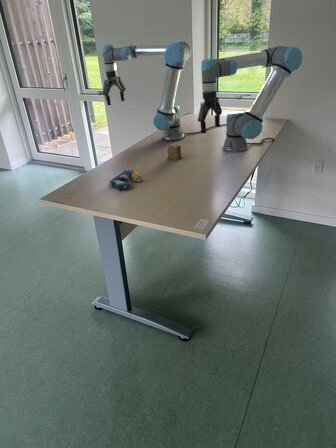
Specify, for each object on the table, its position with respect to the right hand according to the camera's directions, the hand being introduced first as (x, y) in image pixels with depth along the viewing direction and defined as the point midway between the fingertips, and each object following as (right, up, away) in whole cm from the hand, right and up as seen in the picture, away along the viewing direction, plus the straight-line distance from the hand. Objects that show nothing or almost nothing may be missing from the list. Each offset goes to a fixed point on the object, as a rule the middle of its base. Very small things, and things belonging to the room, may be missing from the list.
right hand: (210, 129), depth 192 cm
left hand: (-62, +32, +47) cm, 84 cm away
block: (-20, -12, +20) cm, 31 cm away
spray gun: (-47, -31, -7) cm, 57 cm away
